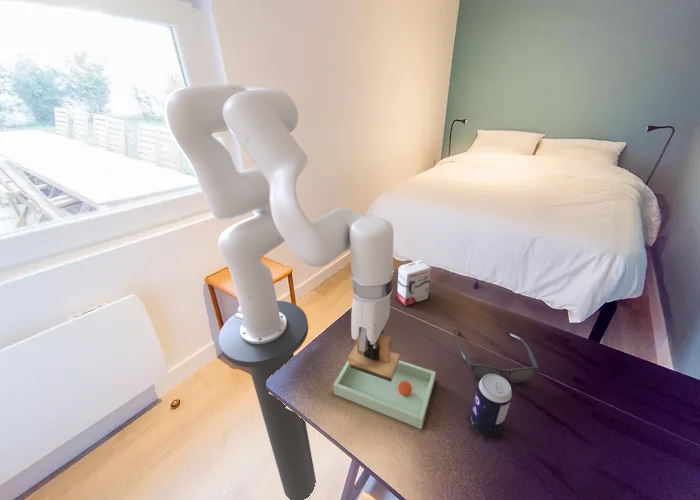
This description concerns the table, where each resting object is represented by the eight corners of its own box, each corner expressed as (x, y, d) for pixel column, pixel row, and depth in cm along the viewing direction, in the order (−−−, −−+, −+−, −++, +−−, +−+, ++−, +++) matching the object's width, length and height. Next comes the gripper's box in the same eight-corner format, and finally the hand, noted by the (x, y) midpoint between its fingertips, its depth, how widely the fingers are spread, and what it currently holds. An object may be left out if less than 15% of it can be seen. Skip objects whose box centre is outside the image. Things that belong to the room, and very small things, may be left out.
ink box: (405, 306, 95) (406, 274, 89) (396, 298, 99) (397, 266, 93) (428, 298, 98) (431, 266, 92) (419, 290, 101) (422, 259, 96)
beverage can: (490, 409, 65) (501, 369, 59) (506, 436, 60) (520, 395, 54) (464, 414, 64) (473, 374, 58) (479, 442, 59) (490, 401, 53)
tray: (334, 394, 69) (333, 384, 68) (356, 354, 79) (356, 346, 78) (421, 429, 62) (422, 419, 60) (434, 381, 71) (436, 371, 70)
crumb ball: (395, 396, 68) (396, 386, 66) (400, 385, 70) (400, 376, 69) (409, 401, 67) (410, 391, 65) (413, 389, 69) (414, 380, 67)
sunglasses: (464, 384, 70) (467, 366, 68) (450, 336, 86) (452, 321, 84) (542, 388, 68) (547, 371, 66) (514, 339, 84) (517, 323, 82)
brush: (348, 368, 69) (346, 336, 64) (357, 352, 73) (356, 320, 68) (392, 383, 65) (392, 350, 60) (399, 365, 69) (400, 333, 64)
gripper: (369, 259, 66) (370, 325, 75) (334, 303, 53) (341, 376, 62) (404, 266, 63) (401, 334, 72) (375, 313, 50) (376, 389, 59)
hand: (373, 353), depth 67 cm, fingers closed on brush
